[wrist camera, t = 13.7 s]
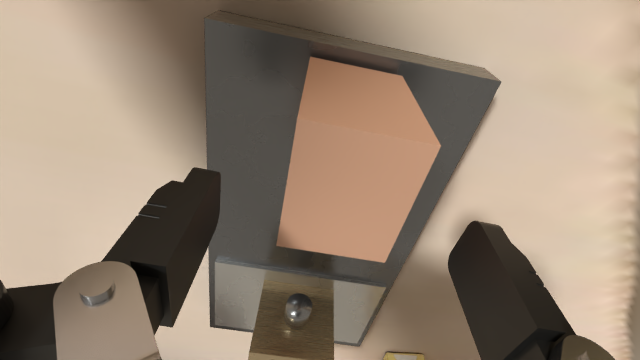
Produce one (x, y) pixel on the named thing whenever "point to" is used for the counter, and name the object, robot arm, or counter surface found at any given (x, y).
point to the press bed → (275, 153)
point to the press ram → (354, 162)
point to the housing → (293, 323)
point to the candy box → (403, 356)
